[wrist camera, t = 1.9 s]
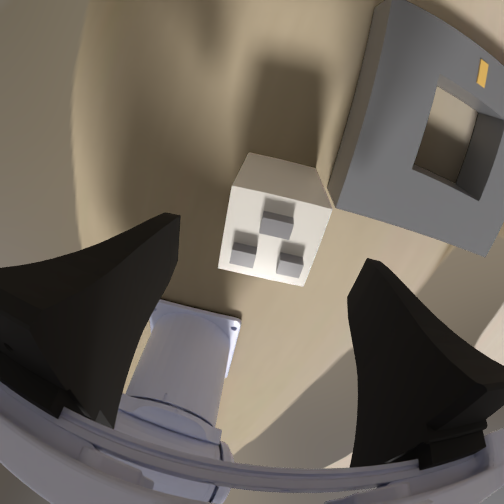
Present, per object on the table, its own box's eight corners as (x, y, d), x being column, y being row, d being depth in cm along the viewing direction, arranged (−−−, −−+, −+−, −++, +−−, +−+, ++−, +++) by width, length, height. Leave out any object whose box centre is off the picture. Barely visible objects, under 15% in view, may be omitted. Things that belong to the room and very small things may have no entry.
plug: (298, 226, 18) (303, 295, 12) (236, 212, 18) (215, 276, 12) (315, 168, 16) (335, 215, 10) (249, 152, 15) (229, 190, 10)
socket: (465, 235, 16) (486, 258, 14) (327, 188, 16) (335, 208, 14) (514, 96, 10) (541, 103, 7) (374, 7, 10) (393, -7, 7)
